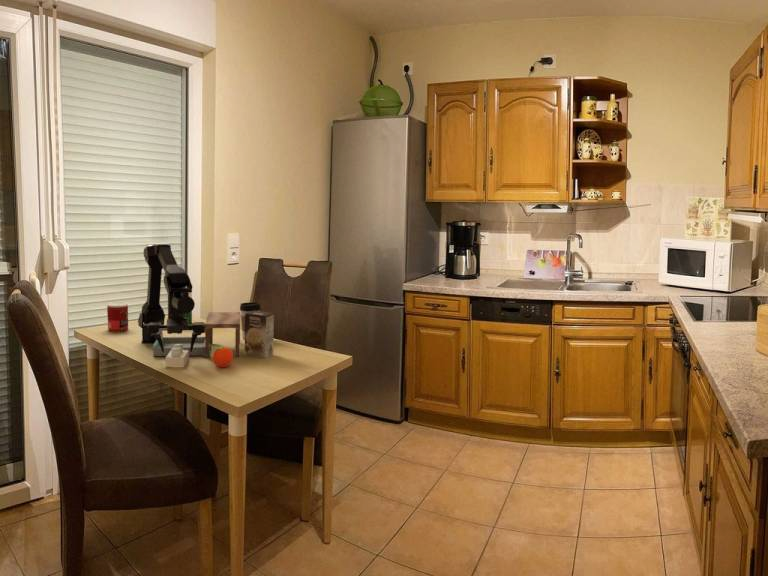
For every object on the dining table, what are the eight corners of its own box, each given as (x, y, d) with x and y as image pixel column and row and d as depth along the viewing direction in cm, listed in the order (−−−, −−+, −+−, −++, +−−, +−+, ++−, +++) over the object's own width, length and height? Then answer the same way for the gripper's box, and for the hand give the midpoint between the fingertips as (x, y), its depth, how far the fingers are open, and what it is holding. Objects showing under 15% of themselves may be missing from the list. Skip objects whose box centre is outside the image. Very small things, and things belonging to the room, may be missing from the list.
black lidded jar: (255, 342, 234) (255, 305, 231) (235, 340, 235) (236, 304, 233) (263, 337, 242) (264, 302, 239) (244, 335, 243) (245, 300, 241)
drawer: (153, 356, 206) (153, 345, 206) (159, 344, 222) (159, 334, 221) (205, 355, 211) (205, 344, 210) (208, 344, 226) (208, 334, 225)
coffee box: (243, 355, 214) (243, 313, 211) (252, 351, 220) (253, 310, 217) (265, 358, 211) (265, 315, 208) (274, 354, 217) (274, 312, 214)
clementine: (210, 370, 194) (210, 350, 193) (208, 364, 200) (208, 345, 199) (234, 368, 197) (234, 348, 196) (231, 363, 204) (231, 343, 202)
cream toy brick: (165, 367, 196) (165, 350, 195) (170, 359, 205) (170, 343, 204) (184, 367, 197) (183, 350, 196) (188, 359, 206) (188, 343, 205)
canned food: (123, 332, 239) (122, 306, 238) (104, 331, 239) (103, 305, 238) (131, 328, 247) (131, 303, 245) (113, 327, 247) (112, 302, 245)
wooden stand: (205, 357, 208) (205, 324, 206) (208, 343, 229) (208, 312, 227) (239, 357, 211) (239, 323, 209) (239, 342, 231) (240, 312, 229)
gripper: (143, 312, 188) (144, 359, 190) (203, 312, 193) (203, 357, 195) (149, 306, 199) (149, 350, 201) (205, 306, 203) (205, 349, 206)
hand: (177, 351), depth 200 cm, fingers open, 9 cm apart
